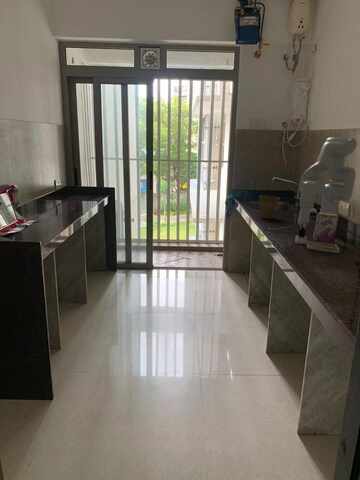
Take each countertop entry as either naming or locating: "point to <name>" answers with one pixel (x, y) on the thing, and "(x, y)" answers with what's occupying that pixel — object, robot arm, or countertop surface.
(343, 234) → the countertop surface
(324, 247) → the tray
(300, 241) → the button housing
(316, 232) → the candy bar box
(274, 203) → the plant pot
